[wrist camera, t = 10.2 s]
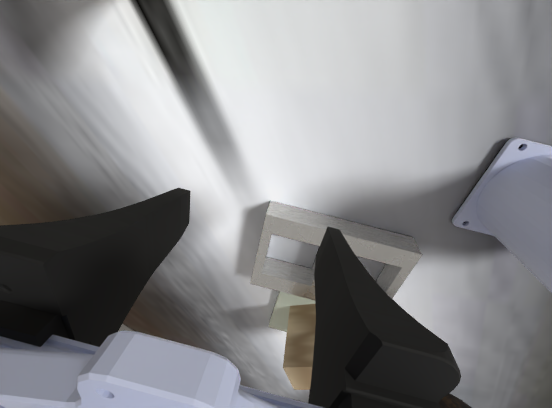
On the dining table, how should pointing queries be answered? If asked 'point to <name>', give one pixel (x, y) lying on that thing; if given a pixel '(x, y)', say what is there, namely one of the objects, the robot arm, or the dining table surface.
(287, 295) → the ceramic tile
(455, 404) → the glass bottle
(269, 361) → the dining table surface
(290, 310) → the maple peg
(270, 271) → the white flat frame
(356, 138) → the dining table surface
